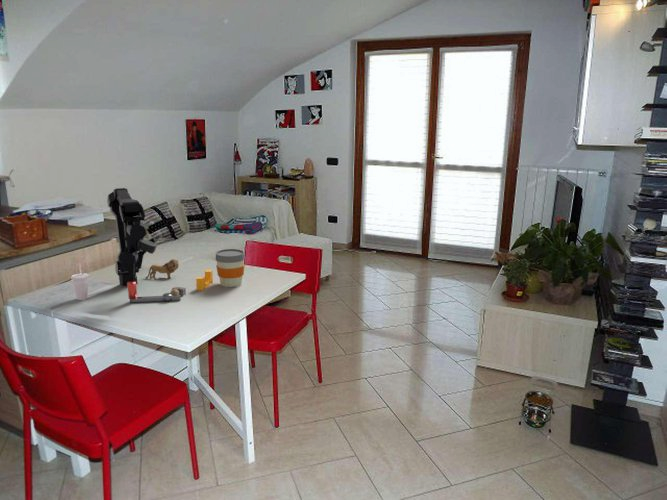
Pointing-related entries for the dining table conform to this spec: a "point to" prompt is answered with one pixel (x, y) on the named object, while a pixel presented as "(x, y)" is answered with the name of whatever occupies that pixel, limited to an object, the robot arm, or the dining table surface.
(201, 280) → the pipe clamp
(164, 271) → the lion figurine
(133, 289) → the lever
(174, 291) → the tan rounded piece
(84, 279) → the smoothie
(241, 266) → the reusable coffee cup
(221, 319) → the dining table surface
